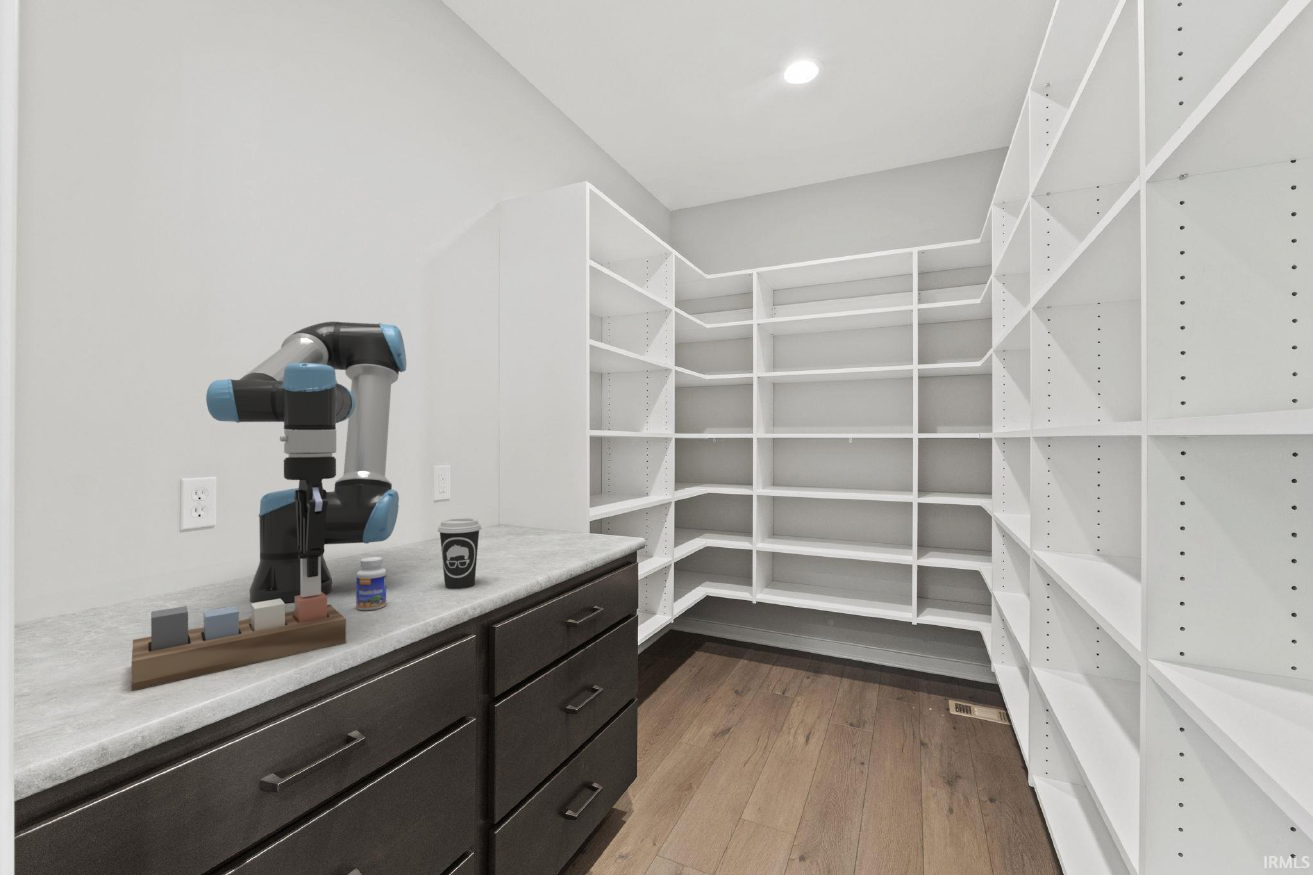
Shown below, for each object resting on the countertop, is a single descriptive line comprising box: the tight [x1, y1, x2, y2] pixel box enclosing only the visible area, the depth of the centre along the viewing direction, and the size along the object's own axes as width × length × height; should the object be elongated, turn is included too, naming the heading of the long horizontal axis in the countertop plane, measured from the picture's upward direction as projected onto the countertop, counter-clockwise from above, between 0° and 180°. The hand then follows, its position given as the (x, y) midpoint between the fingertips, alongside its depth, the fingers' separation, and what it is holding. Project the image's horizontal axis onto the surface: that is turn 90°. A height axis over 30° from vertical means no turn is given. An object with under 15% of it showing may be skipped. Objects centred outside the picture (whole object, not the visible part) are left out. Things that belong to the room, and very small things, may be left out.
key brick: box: [294, 592, 328, 623], centre depth 94 cm, size 4×4×5 cm
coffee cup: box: [437, 517, 482, 590], centre depth 129 cm, size 10×10×15 cm
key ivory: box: [250, 599, 286, 632], centre depth 90 cm, size 4×4×5 cm
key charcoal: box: [150, 605, 189, 651], centre depth 82 cm, size 4×4×5 cm
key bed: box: [131, 603, 347, 692], centre depth 88 cm, size 11×26×4 cm, turn 132°
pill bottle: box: [355, 556, 387, 611], centre depth 113 cm, size 5×5×10 cm
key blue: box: [203, 605, 240, 641], centre depth 86 cm, size 4×4×5 cm
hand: (310, 594), depth 94 cm, fingers closed
